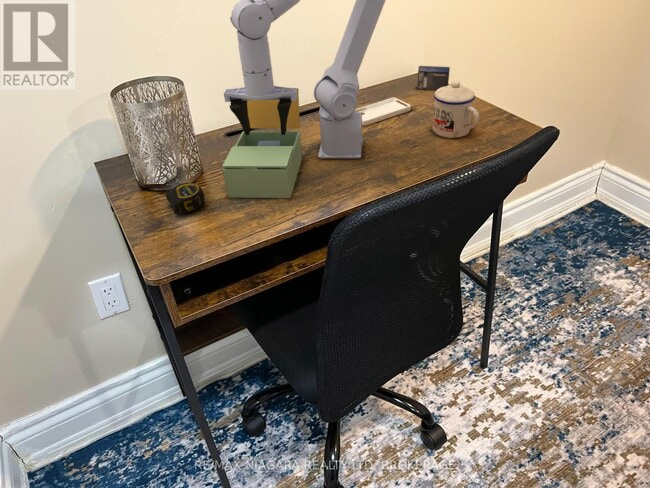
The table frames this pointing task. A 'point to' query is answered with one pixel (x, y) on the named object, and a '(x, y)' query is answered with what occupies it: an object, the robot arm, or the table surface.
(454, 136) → the teacup with lid
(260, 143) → the cube
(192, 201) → the tape measure
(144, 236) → the table surface
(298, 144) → the green open box
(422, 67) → the mini dv tape
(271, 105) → the lid
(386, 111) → the phone case
